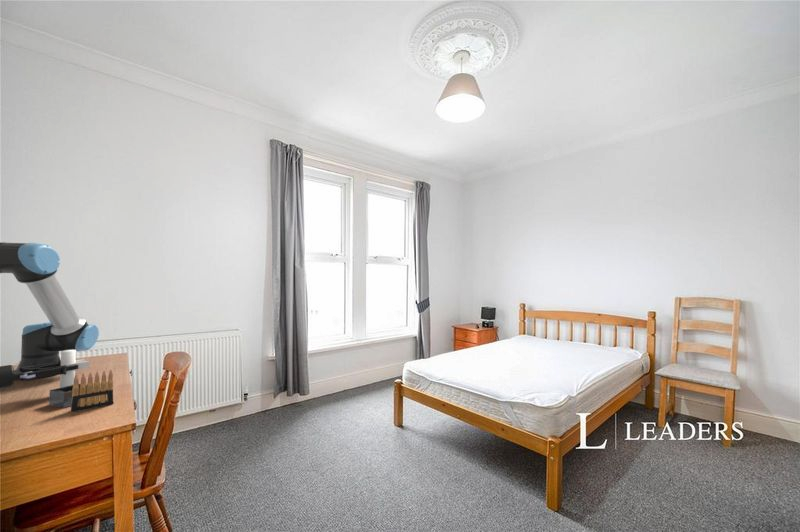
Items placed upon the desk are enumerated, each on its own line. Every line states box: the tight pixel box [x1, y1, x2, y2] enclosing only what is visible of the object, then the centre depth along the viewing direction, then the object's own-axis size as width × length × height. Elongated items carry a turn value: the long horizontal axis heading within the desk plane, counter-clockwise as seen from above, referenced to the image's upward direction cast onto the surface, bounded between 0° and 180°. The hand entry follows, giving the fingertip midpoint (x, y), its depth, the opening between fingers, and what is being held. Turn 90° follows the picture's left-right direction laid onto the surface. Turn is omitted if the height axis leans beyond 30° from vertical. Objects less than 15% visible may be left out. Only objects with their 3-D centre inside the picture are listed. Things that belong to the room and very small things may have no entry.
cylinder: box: [59, 350, 77, 388], centre depth 129 cm, size 4×4×14 cm
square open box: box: [48, 383, 87, 409], centre depth 120 cm, size 8×8×5 cm
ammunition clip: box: [70, 369, 114, 413], centre depth 116 cm, size 11×2×12 cm, turn 135°
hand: (86, 363), depth 133 cm, fingers closed on cylinder, 4 cm apart
